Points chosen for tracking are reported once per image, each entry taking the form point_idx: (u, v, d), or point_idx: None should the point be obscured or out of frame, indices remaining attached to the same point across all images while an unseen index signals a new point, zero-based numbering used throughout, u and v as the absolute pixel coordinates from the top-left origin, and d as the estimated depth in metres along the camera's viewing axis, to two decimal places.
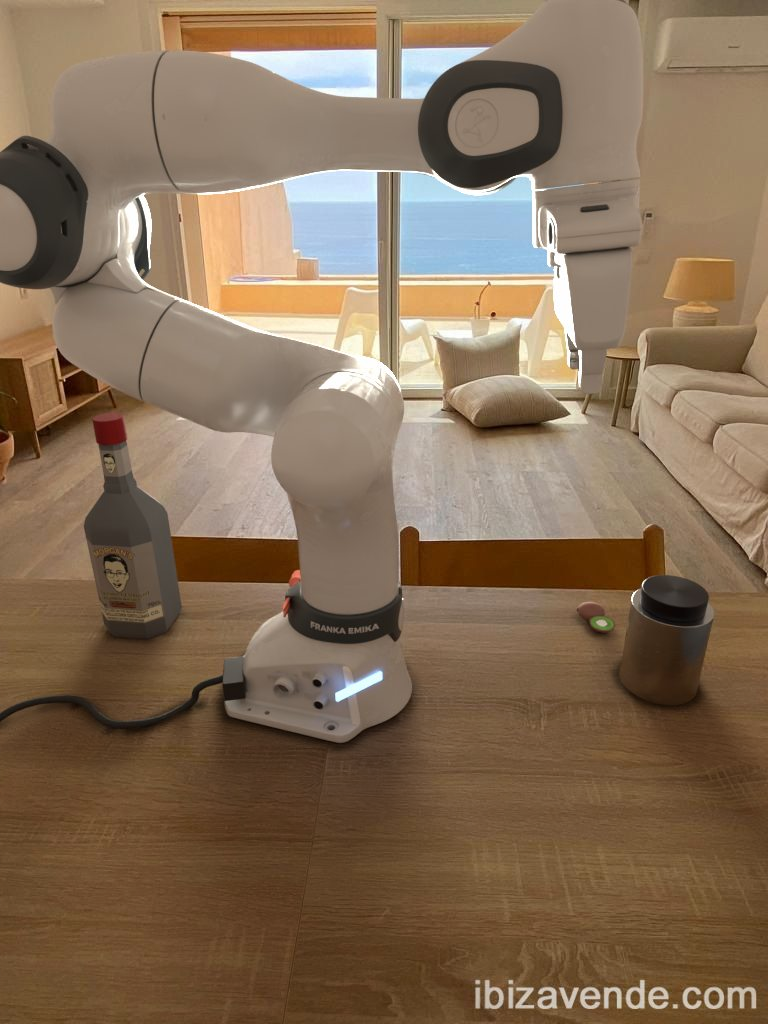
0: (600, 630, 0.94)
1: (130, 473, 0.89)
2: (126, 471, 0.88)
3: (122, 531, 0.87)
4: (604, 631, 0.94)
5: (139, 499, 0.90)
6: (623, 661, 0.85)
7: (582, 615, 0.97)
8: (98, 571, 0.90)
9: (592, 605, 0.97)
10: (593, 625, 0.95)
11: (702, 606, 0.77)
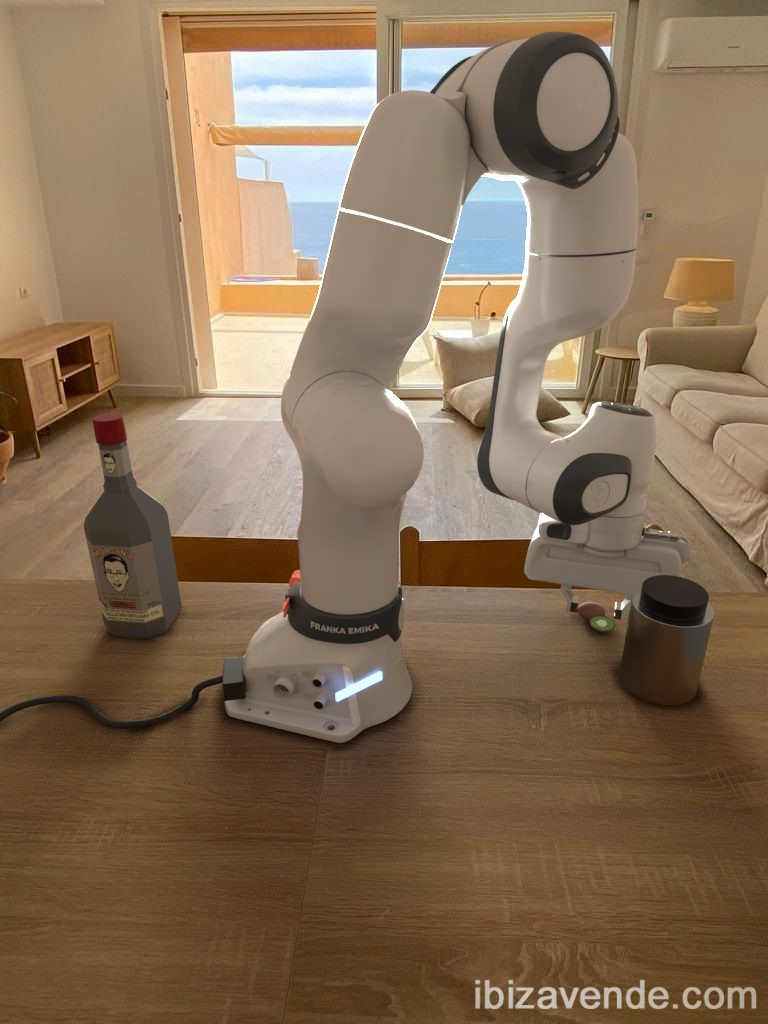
0: (600, 630, 0.94)
1: (130, 473, 0.89)
2: (126, 471, 0.88)
3: (122, 531, 0.87)
4: (604, 631, 0.94)
5: (139, 499, 0.90)
6: (623, 661, 0.85)
7: (582, 615, 0.97)
8: (98, 571, 0.90)
9: (592, 605, 0.97)
10: (593, 625, 0.95)
11: (702, 606, 0.77)
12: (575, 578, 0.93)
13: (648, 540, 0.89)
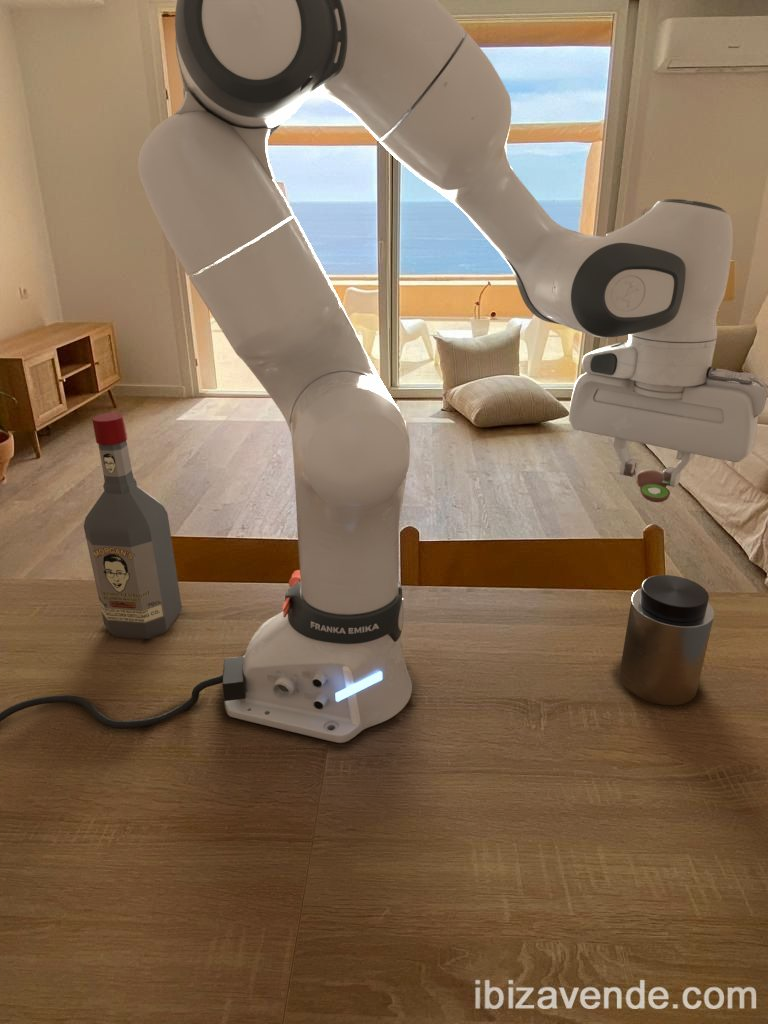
0: (648, 497, 0.79)
1: (130, 473, 0.89)
2: (126, 471, 0.88)
3: (122, 531, 0.87)
4: (653, 499, 0.79)
5: (139, 499, 0.90)
6: (623, 661, 0.85)
7: (638, 482, 0.82)
8: (98, 571, 0.90)
9: (652, 472, 0.82)
10: (643, 490, 0.80)
11: (702, 606, 0.77)
12: (623, 428, 0.80)
13: (714, 382, 0.73)
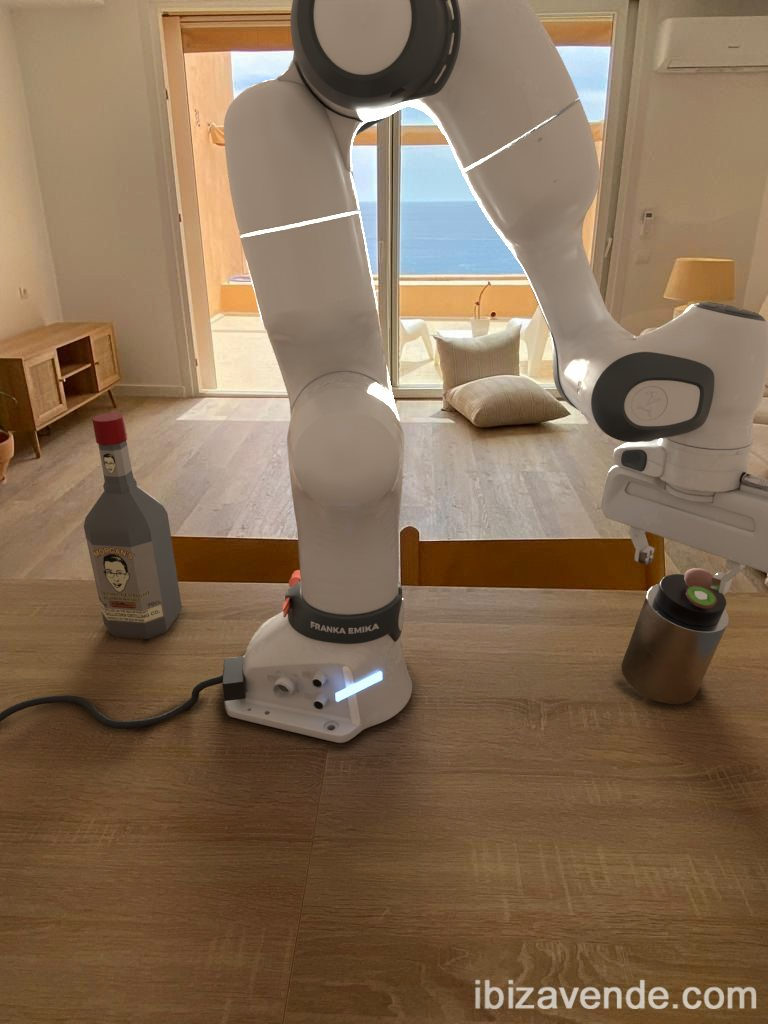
0: (693, 601, 0.76)
1: (130, 473, 0.89)
2: (126, 471, 0.88)
3: (122, 531, 0.87)
4: (697, 604, 0.75)
5: (139, 499, 0.90)
6: (628, 655, 0.84)
7: (686, 580, 0.79)
8: (98, 571, 0.90)
9: (703, 573, 0.78)
10: (688, 593, 0.76)
11: (719, 612, 0.76)
12: (654, 524, 0.78)
13: (747, 488, 0.70)
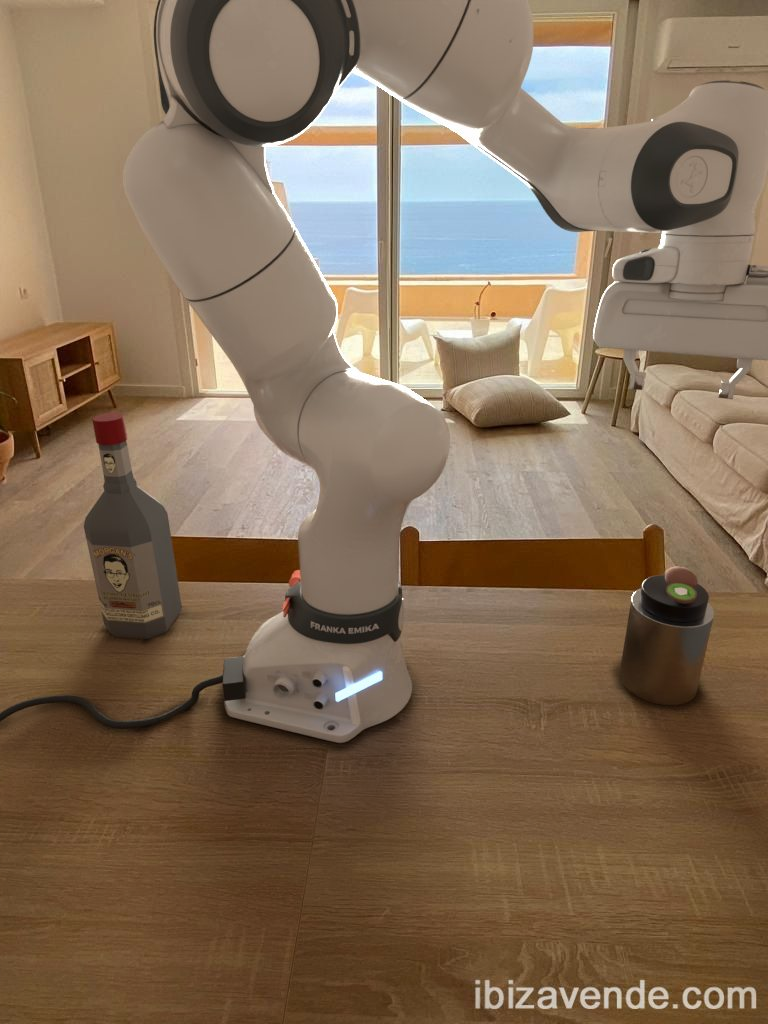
0: (674, 598, 0.77)
1: (130, 473, 0.89)
2: (126, 471, 0.88)
3: (122, 531, 0.87)
4: (678, 600, 0.77)
5: (139, 499, 0.90)
6: (623, 661, 0.85)
7: (666, 579, 0.80)
8: (98, 571, 0.90)
9: (681, 570, 0.79)
10: (669, 590, 0.78)
11: (702, 606, 0.77)
12: (657, 339, 0.76)
13: (754, 280, 0.71)
